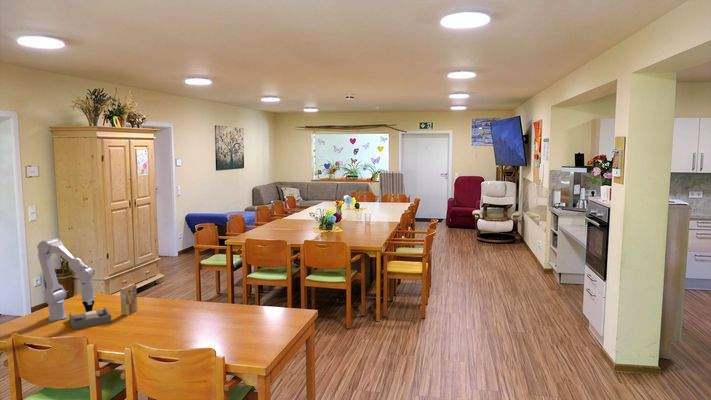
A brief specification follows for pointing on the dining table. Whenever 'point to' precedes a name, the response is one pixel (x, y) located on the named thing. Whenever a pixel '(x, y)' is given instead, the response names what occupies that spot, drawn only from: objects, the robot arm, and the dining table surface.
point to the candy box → (128, 299)
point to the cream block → (90, 315)
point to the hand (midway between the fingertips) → (89, 314)
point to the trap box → (80, 321)
